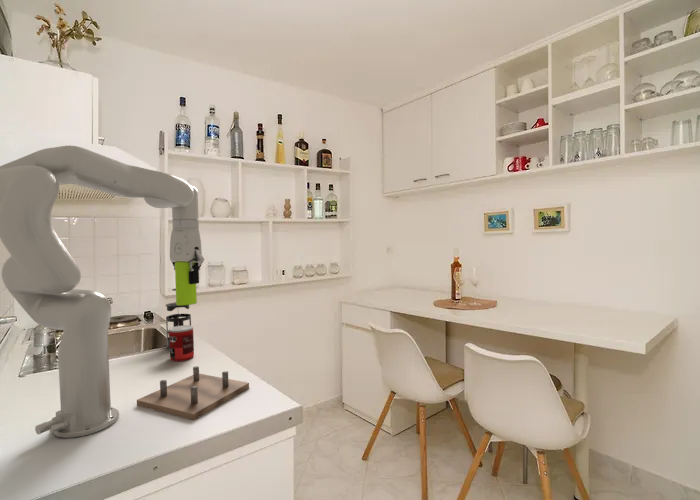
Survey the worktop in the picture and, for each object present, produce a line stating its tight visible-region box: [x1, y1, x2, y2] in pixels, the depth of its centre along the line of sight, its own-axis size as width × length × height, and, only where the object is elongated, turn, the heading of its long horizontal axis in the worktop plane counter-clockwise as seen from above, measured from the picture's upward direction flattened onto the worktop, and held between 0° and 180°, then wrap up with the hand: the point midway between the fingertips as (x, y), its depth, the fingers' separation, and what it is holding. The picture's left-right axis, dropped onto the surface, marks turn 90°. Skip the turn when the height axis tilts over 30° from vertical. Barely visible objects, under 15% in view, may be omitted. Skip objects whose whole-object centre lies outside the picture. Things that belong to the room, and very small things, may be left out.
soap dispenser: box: [174, 262, 198, 306], centre depth 117 cm, size 6×7×20 cm
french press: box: [165, 288, 192, 350], centre depth 149 cm, size 12×9×23 cm
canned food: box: [168, 324, 195, 362], centre depth 134 cm, size 8×8×11 cm
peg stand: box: [136, 365, 250, 421], centre depth 102 cm, size 20×20×6 cm
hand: (187, 282), depth 117 cm, fingers closed on soap dispenser, 5 cm apart
